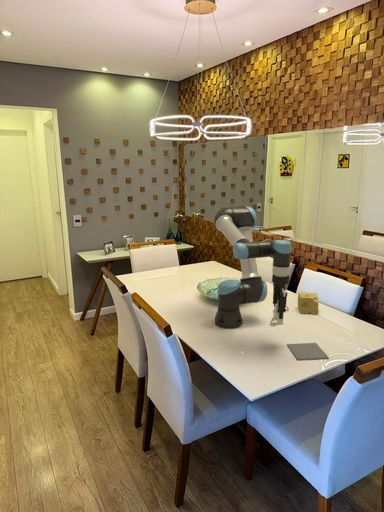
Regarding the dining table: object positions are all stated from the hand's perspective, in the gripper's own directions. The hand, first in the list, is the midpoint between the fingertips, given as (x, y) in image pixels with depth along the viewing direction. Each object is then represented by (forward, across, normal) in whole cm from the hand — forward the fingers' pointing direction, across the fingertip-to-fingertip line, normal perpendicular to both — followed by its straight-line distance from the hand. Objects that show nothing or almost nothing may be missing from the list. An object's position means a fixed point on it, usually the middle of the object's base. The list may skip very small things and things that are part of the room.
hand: (278, 322), depth 165 cm
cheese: (+12, +39, -30) cm, 51 cm away
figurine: (+1, 0, 0) cm, 1 cm away
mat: (+11, -9, -11) cm, 18 cm away
